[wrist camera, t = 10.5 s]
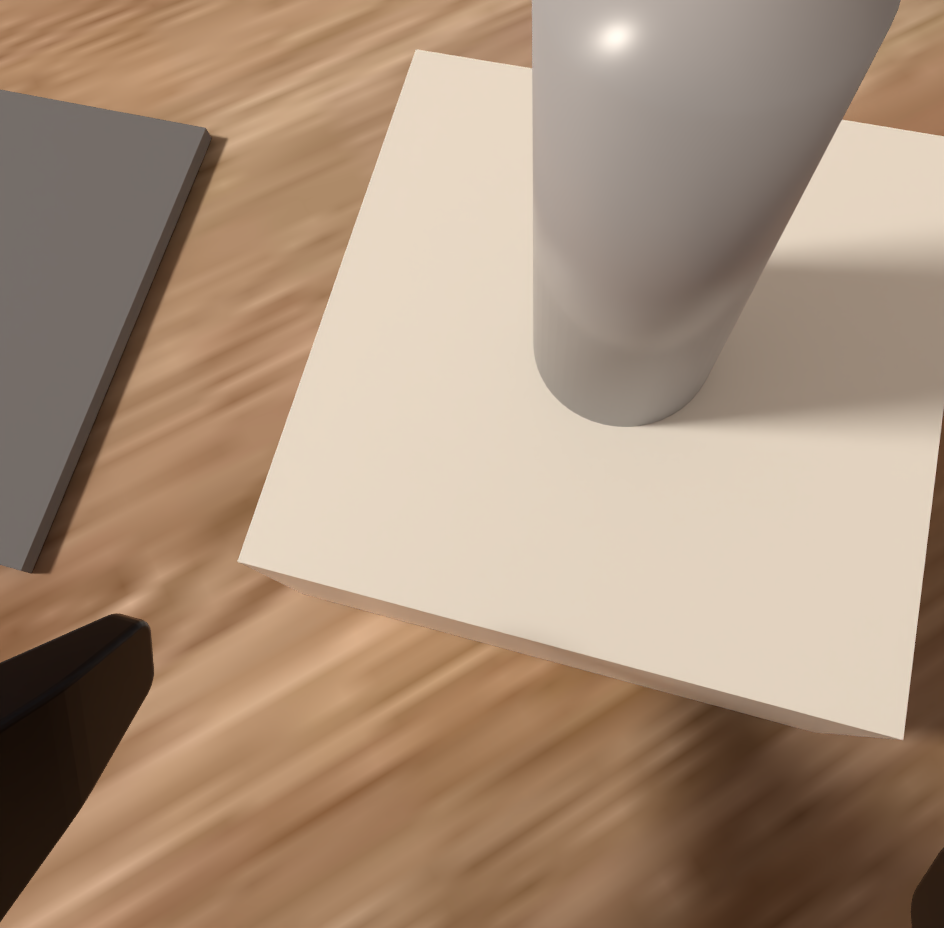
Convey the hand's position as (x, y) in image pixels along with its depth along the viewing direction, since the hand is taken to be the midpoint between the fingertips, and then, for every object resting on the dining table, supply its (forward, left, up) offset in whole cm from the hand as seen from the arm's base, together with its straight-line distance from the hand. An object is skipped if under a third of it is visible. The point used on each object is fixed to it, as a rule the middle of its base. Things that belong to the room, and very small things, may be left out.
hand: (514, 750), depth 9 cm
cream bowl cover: (+4, -6, -8) cm, 11 cm away
